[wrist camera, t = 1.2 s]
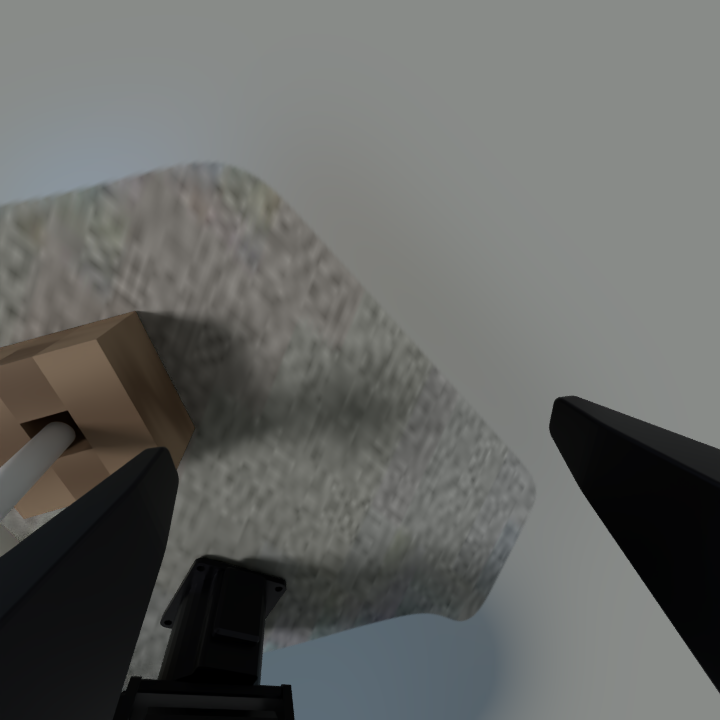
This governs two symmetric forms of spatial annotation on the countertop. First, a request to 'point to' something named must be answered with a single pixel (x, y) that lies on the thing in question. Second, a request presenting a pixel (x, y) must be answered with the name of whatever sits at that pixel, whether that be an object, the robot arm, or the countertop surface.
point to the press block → (88, 405)
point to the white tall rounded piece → (29, 471)
